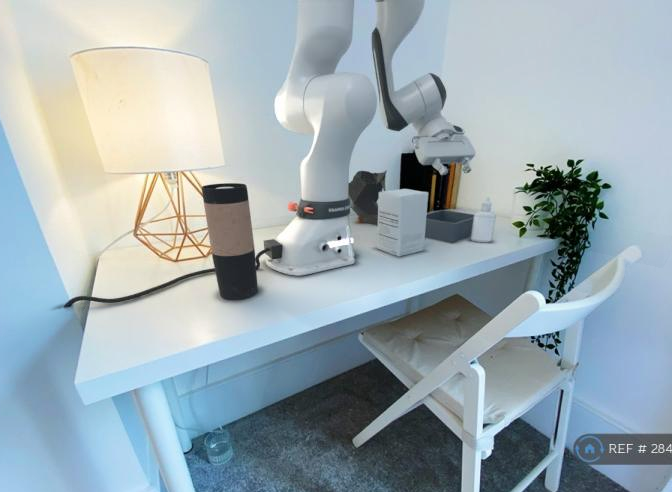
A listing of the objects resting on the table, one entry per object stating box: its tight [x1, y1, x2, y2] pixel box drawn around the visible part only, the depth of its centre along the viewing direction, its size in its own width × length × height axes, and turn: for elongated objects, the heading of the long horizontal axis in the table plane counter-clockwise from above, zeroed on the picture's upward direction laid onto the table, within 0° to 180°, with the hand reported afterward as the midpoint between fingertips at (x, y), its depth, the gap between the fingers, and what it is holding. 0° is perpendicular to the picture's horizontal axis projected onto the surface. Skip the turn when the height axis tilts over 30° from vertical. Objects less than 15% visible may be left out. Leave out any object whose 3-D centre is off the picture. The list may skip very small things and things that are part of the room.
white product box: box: [376, 188, 429, 258], centre depth 87 cm, size 9×9×15 cm
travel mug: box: [201, 182, 259, 301], centre depth 62 cm, size 8×8×20 cm
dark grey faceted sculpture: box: [348, 169, 388, 226], centre depth 115 cm, size 14×15×18 cm
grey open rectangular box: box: [425, 209, 474, 244], centre depth 103 cm, size 15×13×5 cm
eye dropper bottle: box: [470, 197, 497, 243], centre depth 94 cm, size 4×6×12 cm
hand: (456, 172), depth 99 cm, fingers open, 8 cm apart
